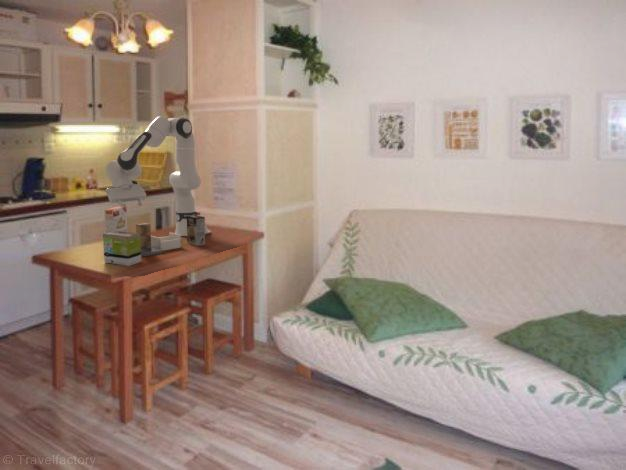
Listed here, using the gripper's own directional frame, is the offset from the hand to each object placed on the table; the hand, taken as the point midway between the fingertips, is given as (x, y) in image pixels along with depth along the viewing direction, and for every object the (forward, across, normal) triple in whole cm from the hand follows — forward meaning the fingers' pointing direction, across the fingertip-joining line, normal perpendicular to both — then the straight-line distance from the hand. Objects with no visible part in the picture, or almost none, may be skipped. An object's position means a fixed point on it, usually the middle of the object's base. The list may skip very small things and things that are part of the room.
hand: (132, 206), depth 296 cm
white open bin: (+22, +14, +12) cm, 29 cm away
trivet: (+24, 0, +9) cm, 26 cm away
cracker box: (+4, -1, +30) cm, 31 cm away
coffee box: (+24, +32, +10) cm, 42 cm away
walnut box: (+23, 0, +8) cm, 25 cm away
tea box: (+33, -19, +1) cm, 38 cm away
